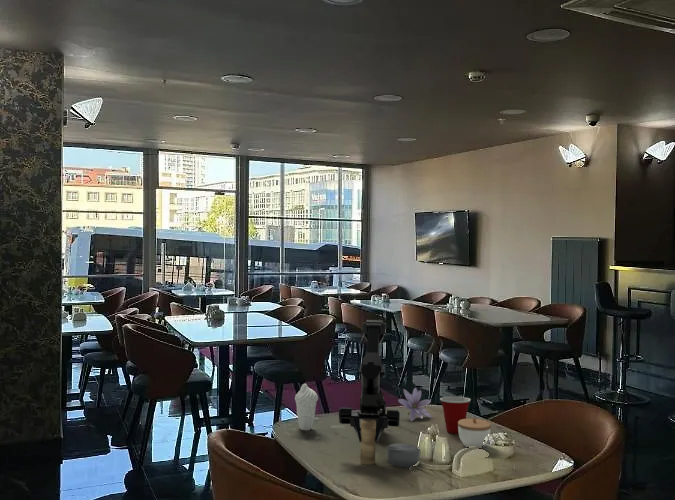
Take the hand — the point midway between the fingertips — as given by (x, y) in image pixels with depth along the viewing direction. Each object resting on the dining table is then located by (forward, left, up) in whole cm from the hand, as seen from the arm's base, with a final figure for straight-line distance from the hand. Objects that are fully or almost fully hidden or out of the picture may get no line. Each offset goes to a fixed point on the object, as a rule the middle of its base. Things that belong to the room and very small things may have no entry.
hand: (368, 442), depth 194 cm
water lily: (-53, -18, -7) cm, 57 cm away
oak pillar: (-1, -1, -7) cm, 7 cm away
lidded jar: (-38, +15, -7) cm, 42 cm away
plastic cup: (-48, +2, -7) cm, 49 cm away
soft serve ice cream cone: (-13, -38, -7) cm, 41 cm away
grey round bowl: (-9, +7, -7) cm, 13 cm away
